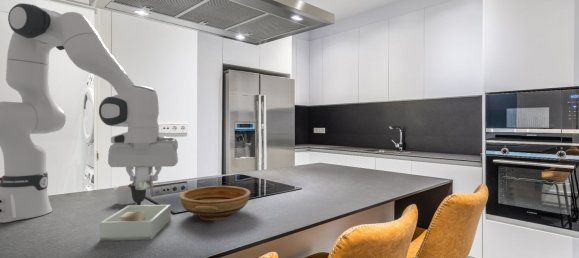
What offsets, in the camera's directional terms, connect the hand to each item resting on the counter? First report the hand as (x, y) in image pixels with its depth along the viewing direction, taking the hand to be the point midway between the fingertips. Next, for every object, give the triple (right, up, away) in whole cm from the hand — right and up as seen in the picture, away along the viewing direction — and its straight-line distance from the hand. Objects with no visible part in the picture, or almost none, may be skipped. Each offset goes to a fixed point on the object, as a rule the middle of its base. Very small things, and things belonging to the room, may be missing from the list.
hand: (144, 180), depth 97 cm
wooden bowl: (+20, -14, +11) cm, 27 cm away
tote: (0, -14, -4) cm, 15 cm away
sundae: (-8, -14, +14) cm, 21 cm away
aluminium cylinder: (0, -2, 0) cm, 2 cm away
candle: (-19, -14, +27) cm, 36 cm away
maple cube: (0, -13, -8) cm, 15 cm away
